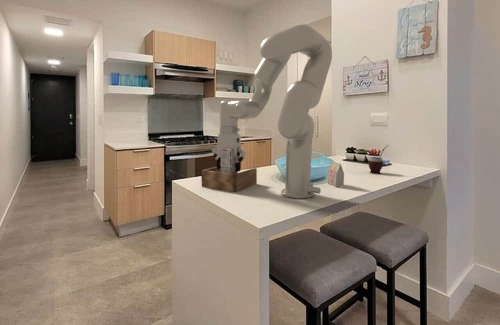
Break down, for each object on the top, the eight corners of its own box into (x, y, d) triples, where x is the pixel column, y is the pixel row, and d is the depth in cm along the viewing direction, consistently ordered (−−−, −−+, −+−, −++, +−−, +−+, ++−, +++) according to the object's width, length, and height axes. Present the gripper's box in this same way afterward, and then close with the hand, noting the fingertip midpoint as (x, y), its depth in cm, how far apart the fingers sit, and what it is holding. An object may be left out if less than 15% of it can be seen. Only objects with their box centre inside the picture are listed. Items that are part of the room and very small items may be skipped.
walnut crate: (256, 183, 136) (256, 168, 135) (235, 192, 122) (235, 174, 121) (225, 179, 145) (224, 164, 144) (201, 186, 131) (201, 170, 130)
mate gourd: (364, 172, 162) (366, 144, 160) (375, 171, 166) (377, 143, 163) (376, 175, 156) (378, 145, 153) (387, 173, 159) (389, 144, 157)
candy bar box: (227, 182, 139) (227, 146, 137) (238, 182, 138) (237, 146, 136) (220, 188, 129) (219, 149, 126) (231, 188, 128) (231, 149, 125)
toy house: (335, 183, 138) (336, 161, 136) (343, 186, 131) (344, 163, 130) (327, 183, 137) (328, 161, 135) (335, 187, 130) (336, 164, 129)
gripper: (250, 131, 128) (250, 171, 131) (217, 128, 137) (217, 166, 140) (240, 132, 122) (240, 174, 125) (207, 129, 131) (207, 169, 134)
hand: (228, 170), depth 133 cm, fingers open, 9 cm apart
